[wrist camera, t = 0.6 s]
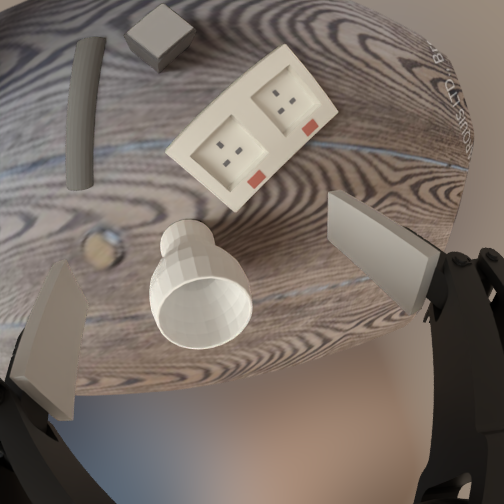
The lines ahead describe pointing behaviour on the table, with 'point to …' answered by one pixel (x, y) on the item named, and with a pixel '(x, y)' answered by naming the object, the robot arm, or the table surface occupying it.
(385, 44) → the table surface
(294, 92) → the socket plate
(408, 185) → the table surface
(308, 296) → the table surface
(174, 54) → the plug
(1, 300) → the table surface
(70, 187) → the gray half cylinder
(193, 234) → the cup
